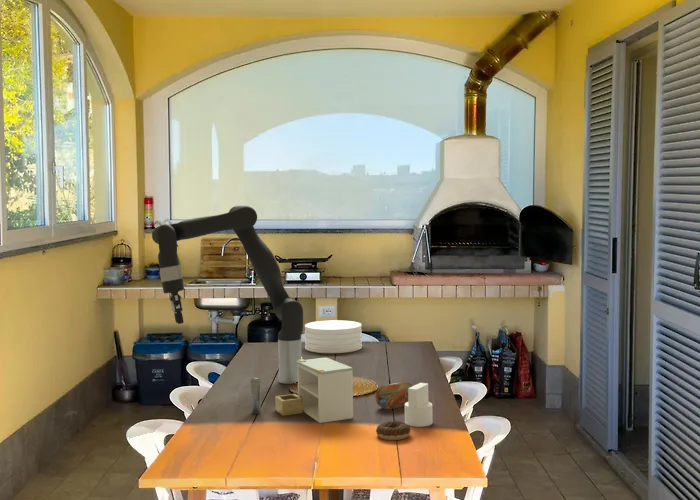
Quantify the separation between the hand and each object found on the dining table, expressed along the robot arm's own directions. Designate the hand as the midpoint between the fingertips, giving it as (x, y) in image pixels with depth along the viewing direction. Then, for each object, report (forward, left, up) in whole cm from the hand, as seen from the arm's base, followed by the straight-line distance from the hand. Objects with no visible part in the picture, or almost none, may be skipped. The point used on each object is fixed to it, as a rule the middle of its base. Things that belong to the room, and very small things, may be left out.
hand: (179, 322), depth 275 cm
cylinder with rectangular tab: (-63, +63, -29) cm, 94 cm away
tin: (-65, +43, -29) cm, 84 cm away
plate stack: (-89, -66, -29) cm, 114 cm away
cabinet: (-40, +39, -29) cm, 63 cm away
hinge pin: (-19, +28, -29) cm, 45 cm away
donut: (-49, +72, -29) cm, 92 cm away
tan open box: (-30, +32, -29) cm, 52 cm away
